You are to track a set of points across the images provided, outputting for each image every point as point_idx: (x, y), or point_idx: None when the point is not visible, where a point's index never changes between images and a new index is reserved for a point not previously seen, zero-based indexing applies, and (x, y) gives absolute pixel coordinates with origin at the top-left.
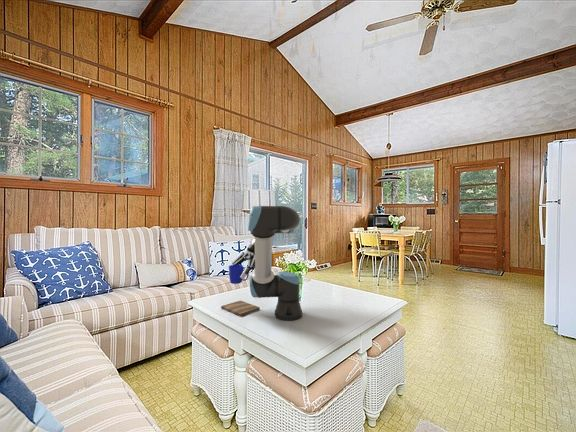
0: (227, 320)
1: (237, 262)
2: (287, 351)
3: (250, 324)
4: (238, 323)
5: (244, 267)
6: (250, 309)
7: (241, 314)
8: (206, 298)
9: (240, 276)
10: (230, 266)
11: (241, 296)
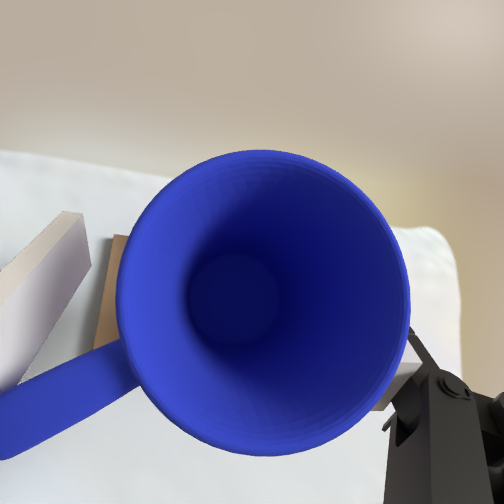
0: (137, 174)
1: (427, 464)
2: None
3: (3, 198)
4: (66, 177)
5: (81, 378)
6: (111, 314)
7: (114, 243)
8: (448, 308)
9: (70, 215)
10: (373, 248)
11: (350, 467)
